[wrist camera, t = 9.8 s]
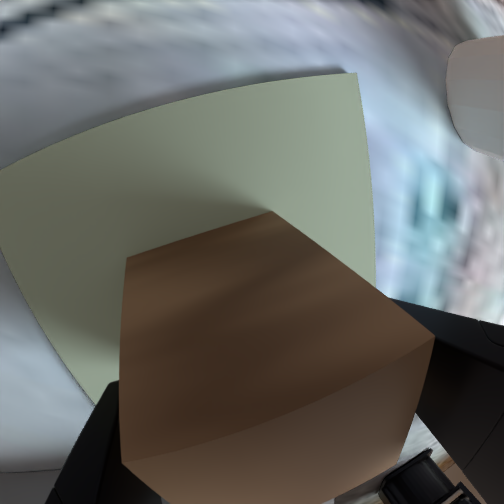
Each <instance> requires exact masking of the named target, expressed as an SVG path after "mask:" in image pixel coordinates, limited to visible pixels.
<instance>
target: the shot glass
mask: <svg viewBox="0 0 504 504" xmlns="http://www.w3.org/2000/svg"><path fill="white" fill-rule="evenodd" d="M445 81H446V91H447V103H448V107H449V110H450V114H451V117H452V121H453V124H454V127H455V129H456V131H457V132H458V134H459V136H460V137H461V139H462V141H463V143H464V144H466V145H467V146H469V147H470V148H471V149H473V150H474V151H476V152H479V153H482V154H485V155H487V156H490V157H493V158H495V159H498V160H500V161H503V162H504V35H502V36H494V37H487V38H480V39H474V40H468V41H464V42H462V43H460V44H457V45H455V47H454V49H453V51H452V53H451V55H450V57H449V58H448V65H447V72H446V79H445Z"/></svg>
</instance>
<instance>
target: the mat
mask: <svg viewBox="0 0 504 504" xmlns="http://www.w3.org/2000/svg"><path fill="white" fill-rule="evenodd" d="M271 211H273V212H275V213H276V214H278V215H279V216H280V217H282V218H283V219H284V220H286V221H287V222H289V223H290V224H291V225H293V226H294V227H295V228H297V229H298V230H300V231H301V232H302V233H304V234H305V235H306V236H308V237H309V238H311V239H312V240H313V241H315V242H316V243H317V244H319V245H320V246H321V247H323V248H324V249H325V250H327V251H328V252H329V253H331V254H332V255H333V256H335V257H336V258H337V259H339V260H340V261H341V262H343V263H344V264H345V265H347V266H348V267H349V268H350V269H352V270H353V271H354V272H356V273H357V274H358V275H360V276H361V277H362V278H364V279H365V280H366V281H367V282H369V283H370V284H371V285H373V286H374V287H375V288H376V266H375V231H374V212H373V197H372V184H371V173H370V163H369V153H368V145H367V136H366V129H365V122H364V115H363V108H362V102H361V96H360V90H359V84H358V78H357V73H344V74H331V75H320V76H310V77H301V78H293V79H285V80H278V81H271V82H265V83H259V84H253V85H247V86H242V87H237V88H231V89H227V90H222V91H217V92H212V93H208V94H204V95H199V96H195V97H191V98H187V99H183V100H179V101H176V102H172V103H168V104H165V105H161V106H158V107H154V108H151V109H147V110H144V111H141V112H138V113H135V114H132V115H128V116H125V117H122V118H119V119H117V120H114V121H111V122H108V123H105V124H102V125H100V126H97V127H94V128H92V129H89V130H86V131H84V132H81V133H79V134H76V135H74V136H71V137H69V138H67V139H64V140H62V141H59V142H57V143H55V144H53V145H50V146H48V147H46V148H44V149H41V150H39V151H37V152H35V153H33V154H31V155H29V156H27V157H25V158H23V159H21V160H19V161H17V162H15V163H13V164H11V165H9V166H7V167H5V168H3V169H1V170H0V249H1V251H2V253H3V256H4V258H5V260H6V262H7V264H8V266H9V269H10V271H11V273H12V275H13V277H14V279H15V281H16V283H17V285H18V287H19V289H20V291H21V293H22V294H23V296H24V298H25V300H26V302H27V304H28V305H29V307H30V309H31V311H32V313H33V314H34V316H35V318H36V319H37V321H38V323H39V325H40V326H41V328H42V330H43V331H44V333H45V334H46V336H47V338H48V339H49V341H50V342H51V344H52V345H53V347H54V349H55V350H56V352H57V353H58V355H59V356H60V358H61V359H62V361H63V362H64V363H65V365H66V366H67V368H68V369H69V371H70V372H71V373H72V375H73V376H74V377H75V379H76V380H77V382H78V383H79V384H80V386H81V387H82V388H83V390H84V391H85V392H86V393H87V395H88V396H89V397H90V399H91V400H92V401H93V402H94V404H95V405H96V404H97V403H98V401H99V399H100V397H101V396H102V394H103V392H104V390H105V389H106V387H107V385H108V384H109V383H110V382H113V381H116V380H119V352H120V329H121V313H122V299H123V288H124V277H125V267H126V258H127V257H130V256H133V255H136V254H139V253H142V252H145V251H148V250H151V249H154V248H157V247H160V246H163V245H166V244H169V243H172V242H175V241H178V240H181V239H184V238H188V237H191V236H194V235H197V234H200V233H203V232H206V231H209V230H213V229H216V228H219V227H222V226H225V225H229V224H232V223H235V222H238V221H241V220H245V219H248V218H251V217H255V216H258V215H261V214H264V213H268V212H271Z"/></svg>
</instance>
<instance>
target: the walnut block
mask: <svg viewBox="0 0 504 504" xmlns="http://www.w3.org/2000/svg"><path fill="white" fill-rule="evenodd" d="M434 340H435V335H434V334H432V333H431V332H430V331H429V330H428V329H426V328H425V327H424V326H423V325H422V324H420V323H419V322H418V321H417V320H415V319H414V318H413V317H412V316H410V315H409V314H408V313H407V312H405V311H404V310H403V309H402V308H400V307H399V306H398V305H397V304H395V303H394V302H393V301H392V300H390V299H389V298H388V297H387V296H385V295H384V294H383V293H382V292H380V291H379V290H378V289H376V288H375V287H374V286H373V285H371V284H370V283H369V282H367V281H366V280H365V279H364V278H362V277H361V276H360V275H358V274H357V273H356V272H354V271H353V270H352V269H350V268H349V267H348V266H347V265H345V264H344V263H343V262H341V261H340V260H339V259H337V258H336V257H335V256H333V255H332V254H331V253H329V252H328V251H327V250H325V249H324V248H323V247H321V246H320V245H319V244H317V243H316V242H315V241H313V240H312V239H311V238H309V237H308V236H306V235H305V234H304V233H302V232H301V231H300V230H298V229H297V228H295V227H294V226H293V225H291V224H290V223H289V222H287V221H286V220H284V219H283V218H282V217H280V216H279V215H278V214H276V213H275V212H273V211H271V212H268V213H264V214H261V215H258V216H255V217H251V218H248V219H245V220H241V221H238V222H235V223H232V224H229V225H225V226H222V227H219V228H216V229H213V230H209V231H206V232H203V233H200V234H197V235H194V236H191V237H188V238H184V239H181V240H178V241H175V242H172V243H169V244H166V245H163V246H160V247H157V248H154V249H151V250H148V251H145V252H142V253H139V254H136V255H133V256H130V257H127V258H126V267H125V277H124V288H123V299H122V313H121V329H120V352H119V421H120V443H121V458H122V464H123V465H125V466H126V467H127V468H128V469H129V470H130V471H131V472H132V473H133V474H135V475H136V476H137V477H138V478H139V479H140V480H142V481H143V482H144V483H145V484H146V485H147V486H149V487H150V488H151V489H152V490H154V491H155V492H156V493H157V494H159V495H160V496H161V497H162V498H164V499H165V500H166V501H168V502H169V503H170V504H322V503H324V502H327V501H329V500H331V499H333V498H335V497H337V496H339V495H341V494H343V493H345V492H347V491H349V490H351V489H353V488H355V487H357V486H359V485H361V484H363V483H365V482H367V481H368V480H370V479H372V478H374V477H375V476H377V475H379V474H381V473H382V472H384V471H386V470H387V469H389V468H391V467H392V466H394V465H396V463H397V461H398V459H399V456H400V454H401V451H402V448H403V446H404V443H405V440H406V438H407V435H408V432H409V429H410V426H411V424H412V421H413V418H414V415H415V411H416V408H417V405H418V402H419V399H420V395H421V392H422V388H423V385H424V381H425V378H426V374H427V370H428V366H429V362H430V358H431V354H432V349H433V345H434Z"/></svg>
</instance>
